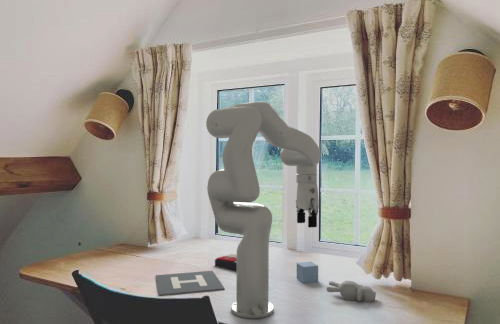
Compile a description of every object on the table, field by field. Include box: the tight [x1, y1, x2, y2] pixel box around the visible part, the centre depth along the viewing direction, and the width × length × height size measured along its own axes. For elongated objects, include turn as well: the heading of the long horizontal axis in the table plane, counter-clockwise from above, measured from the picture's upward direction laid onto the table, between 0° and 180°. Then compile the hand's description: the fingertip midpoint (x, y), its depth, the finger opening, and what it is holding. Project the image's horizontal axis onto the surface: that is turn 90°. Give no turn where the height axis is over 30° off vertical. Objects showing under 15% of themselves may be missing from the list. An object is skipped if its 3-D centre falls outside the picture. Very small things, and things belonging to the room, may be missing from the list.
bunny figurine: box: [325, 280, 377, 304], centre depth 122 cm, size 10×5×15 cm
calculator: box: [214, 253, 237, 272], centre depth 159 cm, size 11×4×15 cm
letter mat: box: [155, 270, 225, 297], centre depth 137 cm, size 22×22×1 cm
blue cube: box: [296, 261, 319, 284], centre depth 140 cm, size 6×6×6 cm
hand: (306, 224), depth 140 cm, fingers open, 9 cm apart
